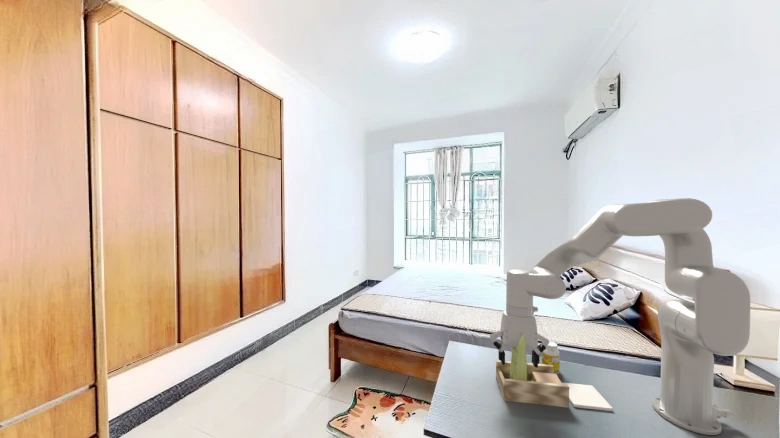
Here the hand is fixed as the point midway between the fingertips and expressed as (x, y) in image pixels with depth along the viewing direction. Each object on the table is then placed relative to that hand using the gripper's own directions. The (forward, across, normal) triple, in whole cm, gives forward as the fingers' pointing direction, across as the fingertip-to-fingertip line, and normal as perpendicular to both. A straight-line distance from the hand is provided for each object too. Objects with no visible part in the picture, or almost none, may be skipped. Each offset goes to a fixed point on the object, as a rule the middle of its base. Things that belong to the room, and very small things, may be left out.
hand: (518, 363), depth 83 cm
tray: (+8, -3, 0) cm, 9 cm away
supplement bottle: (+9, -15, -13) cm, 21 cm away
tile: (+8, -19, 0) cm, 20 cm away
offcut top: (+6, -8, 0) cm, 11 cm away
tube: (+9, 0, 0) cm, 9 cm away
